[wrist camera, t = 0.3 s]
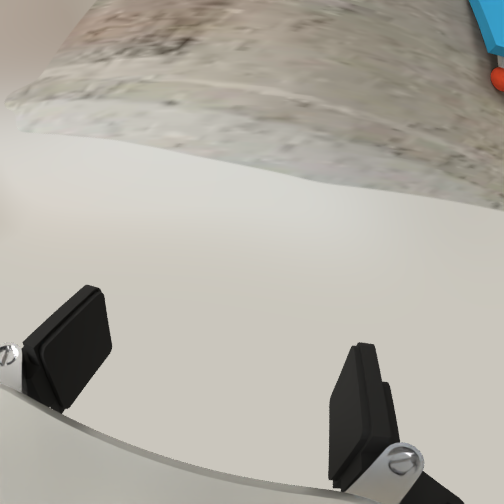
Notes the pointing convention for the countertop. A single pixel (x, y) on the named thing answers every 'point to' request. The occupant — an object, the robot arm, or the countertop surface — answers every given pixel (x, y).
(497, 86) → the lever
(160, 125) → the countertop surface
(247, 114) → the countertop surface
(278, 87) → the countertop surface
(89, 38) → the countertop surface
